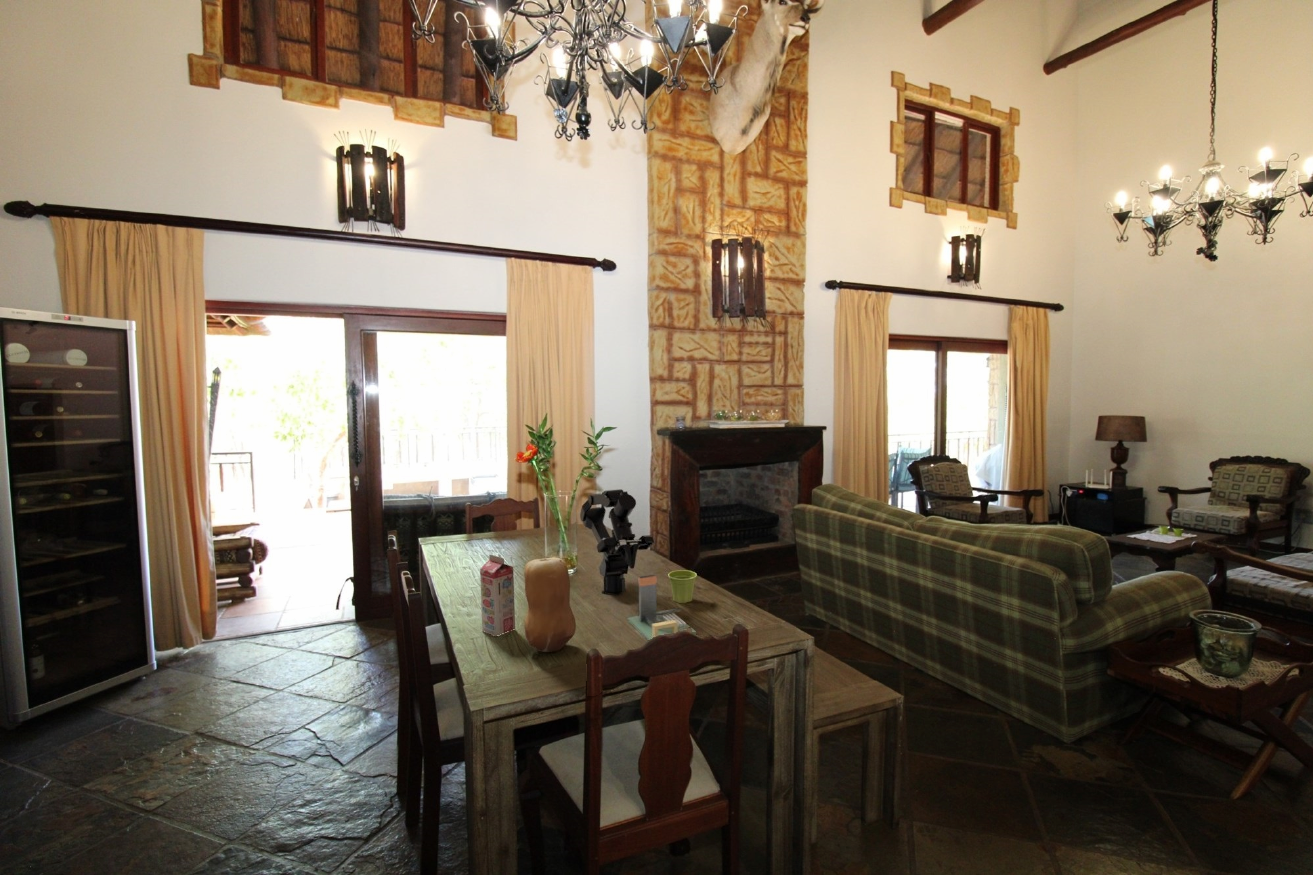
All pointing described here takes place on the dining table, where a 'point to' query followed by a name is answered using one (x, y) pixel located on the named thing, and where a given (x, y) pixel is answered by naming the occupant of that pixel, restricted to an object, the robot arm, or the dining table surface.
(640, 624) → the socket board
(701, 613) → the dining table surface
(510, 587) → the juice carton
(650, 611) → the orange-rimmed grey tower
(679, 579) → the plant pot
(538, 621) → the butternut squash
